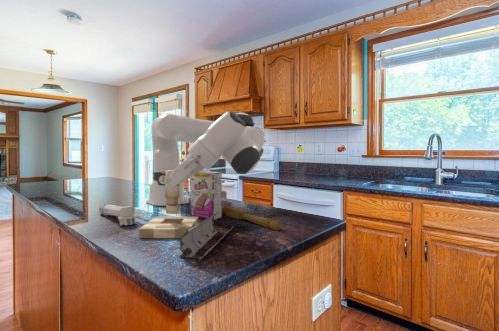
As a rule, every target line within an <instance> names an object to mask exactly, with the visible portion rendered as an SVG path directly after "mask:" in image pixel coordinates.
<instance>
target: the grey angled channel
mask: <svg viewBox="0 0 499 331" xmlns="http://www.w3.org/2000/svg"><path fill="white" fill-rule="evenodd" d="M219 212H220V211H219ZM217 213H218V212H217ZM217 213H215V214H214V215H212V216H211V217H209V218H207V219H204V220H203V221H200V222H198V225H196V226H195V227H192V228H190V229H189V230H187V231H186V232H185V233H184V234H183V235H182V236H181V238H179V250H180V251H181V253H182V254H180V255H179V258H180V259H185V258H187V259H191V260H202V259H203V258H204V257H205V256H206V255H207V254H208V253H210V252H211V251H212V250H213V249H214V247H216V246H218V244H219V243H220V242H221V241H222V239H224V238H225V237H226V236H227V235H228V234H229V233H230V232H231V231H232V229H233V228H234V226H232V227H231V228H230V229H228V230H227V231H226V232H225V234H223V235H222V236H221V238H219V239H218V241H217V242H215V243H214V244H213V245H212V246H211V248H209V249H207V251H206V252H205V253H204V255H202V256H197V255H196V253H197V252H199V249H202V248H203V247H204V246H205V245H206V244H207V243H208V242H209V241H211V239H212V238H213V237H214V236H215V235H217V234H218V232H219V229H218V228H217V226H215V220H214V216H215V215H216V214H217Z"/></svg>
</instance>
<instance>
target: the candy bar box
mask: <svg viewBox="0 0 499 331" xmlns="http://www.w3.org/2000/svg"><path fill="white" fill-rule="evenodd" d="M222 179H223V178H222V172H218V171H217V172H216V171H209V170H208V171H206V170H200V171H199V172H198V173H197V174H195V175H194V176H192V177H191V178H189V185H190V187H189V188H190V190H189V191H190V197H189V200H190V217H198V219H199V218H201V219H204V220H206V219H207V218H209V217H211V216H212V215H214V214H215V213H217V212H218V213H217V214H216V215H215V216H214V221H215V220H218V219H219V220H220V219H221V218H222V217H223V216H222V215H223V213H222V208H223V206H222V205H223V203H222V202H223V198H222V197H223V196H222V195H223V193H222V191H223V190H222V187H223V186H222V185H223V184H222V183H223V182H222V181H223V180H222ZM219 211H220V212H219Z"/></svg>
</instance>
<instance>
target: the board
mask: <svg viewBox="0 0 499 331" xmlns="http://www.w3.org/2000/svg"><path fill="white" fill-rule="evenodd" d="M198 224H199V217H194V216H154V217H153V218H152V219H150V220H149V221H148V222H147V223H145V224H144V225H142V226H141V227H140V228H138V238H139V239H180V238H181V236H182V235H183V234H184V233H185V232H186V231H187V230H189V229H190V228H192V227H195V226H196V225H198Z"/></svg>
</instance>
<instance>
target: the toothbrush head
mask: <svg viewBox="0 0 499 331" xmlns="http://www.w3.org/2000/svg"><path fill="white" fill-rule="evenodd" d="M99 213H100V214H101V215H104V216H105V217H106V216H117V220H118V221H119V226H123V225H124V226H131V225H136V218H137V215H136V214H135V213H134V208H133V207H132V206H131V205H130V206H121V205H114V204H112V203H104V204H101V205H100V207H99Z"/></svg>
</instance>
